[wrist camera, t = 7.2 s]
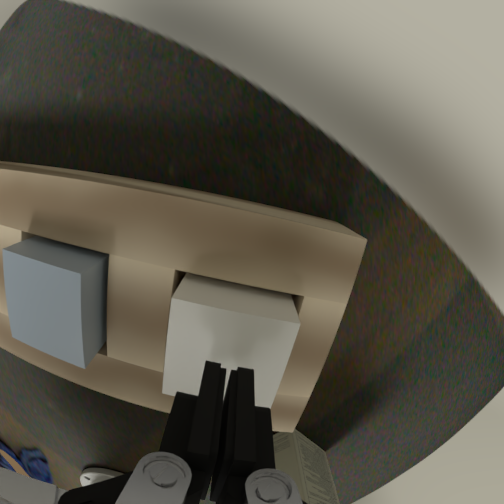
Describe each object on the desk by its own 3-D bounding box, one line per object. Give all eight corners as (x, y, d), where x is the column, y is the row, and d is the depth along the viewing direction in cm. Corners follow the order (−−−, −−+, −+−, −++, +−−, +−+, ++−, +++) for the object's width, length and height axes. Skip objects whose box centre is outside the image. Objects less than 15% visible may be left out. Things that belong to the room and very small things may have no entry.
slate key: (107, 339, 15) (85, 369, 12) (39, 314, 14) (12, 337, 12) (110, 254, 14) (80, 273, 11) (36, 235, 13) (2, 248, 10)
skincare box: (250, 443, 22) (252, 564, 10) (292, 422, 21) (313, 551, 10) (290, 469, 23) (303, 572, 12) (329, 451, 23) (355, 557, 11)
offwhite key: (265, 375, 15) (268, 413, 12) (175, 357, 15) (162, 393, 12) (290, 294, 14) (300, 323, 11) (186, 272, 14) (171, 297, 11)
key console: (284, 383, 20) (292, 432, 15) (-19, 292, 18) (-53, 312, 14) (336, 221, 17) (367, 239, 12) (-20, 159, 16) (-62, 162, 11)
